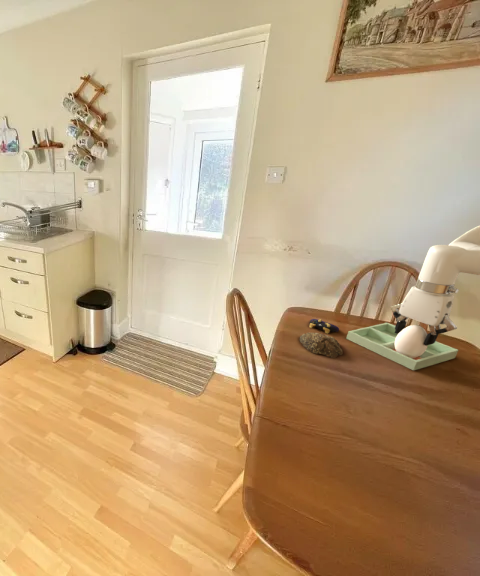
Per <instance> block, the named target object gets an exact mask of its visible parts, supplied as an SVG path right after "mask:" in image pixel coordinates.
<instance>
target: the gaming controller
mask: <svg viewBox="0 0 480 576" xmlns="http://www.w3.org/2000/svg"><path fill="white" fill-rule="evenodd" d="M308 325H309V328H311V329H314V328H315V329H317V330H319V331H323V332H324V334H331V333H338V332H339V330H340V327H339V326H337V325H334V324H332V323H330V322H327V321H324V320H322V318H321V319H320V318H319V319H318V318H311V319H310V320H309V324H308Z"/></svg>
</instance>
